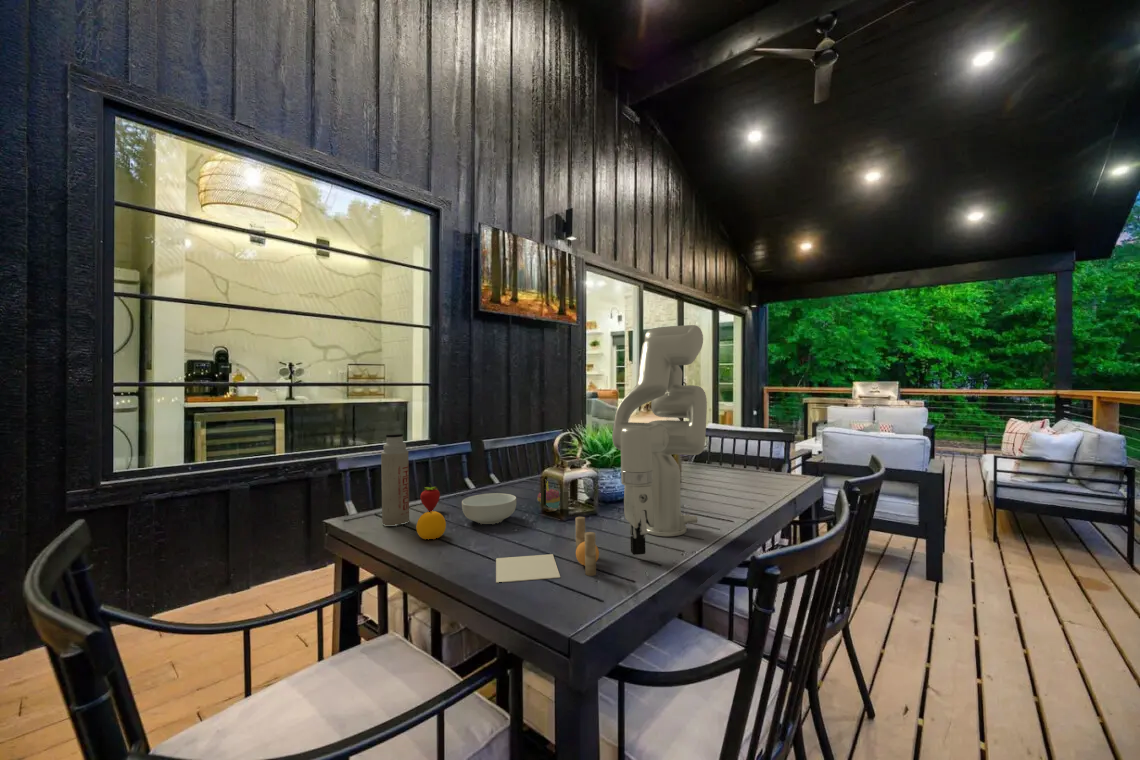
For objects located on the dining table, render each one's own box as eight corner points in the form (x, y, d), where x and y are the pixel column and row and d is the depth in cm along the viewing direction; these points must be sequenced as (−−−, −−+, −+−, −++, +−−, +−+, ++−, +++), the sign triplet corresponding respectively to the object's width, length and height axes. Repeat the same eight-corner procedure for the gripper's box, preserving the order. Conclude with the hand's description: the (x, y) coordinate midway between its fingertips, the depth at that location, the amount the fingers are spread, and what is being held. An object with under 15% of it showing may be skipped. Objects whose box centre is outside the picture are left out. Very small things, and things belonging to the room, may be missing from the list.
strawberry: (416, 514, 157) (415, 484, 157) (429, 508, 164) (429, 479, 164) (431, 515, 155) (431, 485, 155) (444, 509, 162) (443, 480, 162)
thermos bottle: (414, 521, 148) (413, 432, 148) (393, 528, 142) (391, 435, 142) (398, 518, 153) (397, 431, 153) (376, 524, 146) (375, 434, 146)
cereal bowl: (507, 511, 159) (507, 490, 159) (524, 524, 144) (523, 501, 144) (456, 518, 151) (456, 496, 152) (469, 532, 136) (468, 508, 137)
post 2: (594, 571, 107) (594, 531, 107) (597, 575, 105) (596, 535, 105) (584, 572, 107) (583, 532, 107) (586, 576, 104) (585, 535, 104)
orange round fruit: (422, 544, 127) (422, 517, 127) (412, 537, 133) (412, 511, 133) (450, 538, 132) (450, 511, 132) (439, 531, 138) (439, 506, 138)
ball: (585, 566, 113) (600, 548, 114) (590, 574, 108) (606, 555, 109) (569, 551, 113) (584, 533, 114) (573, 558, 107) (589, 539, 108)
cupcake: (554, 515, 153) (553, 478, 153) (532, 512, 157) (531, 476, 157) (567, 508, 160) (566, 473, 160) (546, 506, 164) (545, 471, 165)
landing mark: (552, 554, 118) (552, 554, 118) (560, 577, 104) (560, 576, 104) (496, 559, 115) (496, 558, 115) (496, 582, 102) (496, 582, 102)
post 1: (584, 552, 119) (584, 516, 119) (586, 555, 117) (585, 519, 117) (575, 552, 119) (574, 517, 119) (576, 556, 116) (576, 519, 116)
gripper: (662, 483, 107) (663, 563, 107) (642, 471, 122) (643, 541, 122) (630, 484, 106) (631, 566, 106) (614, 472, 121) (615, 543, 121)
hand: (638, 553), depth 114 cm, fingers closed
